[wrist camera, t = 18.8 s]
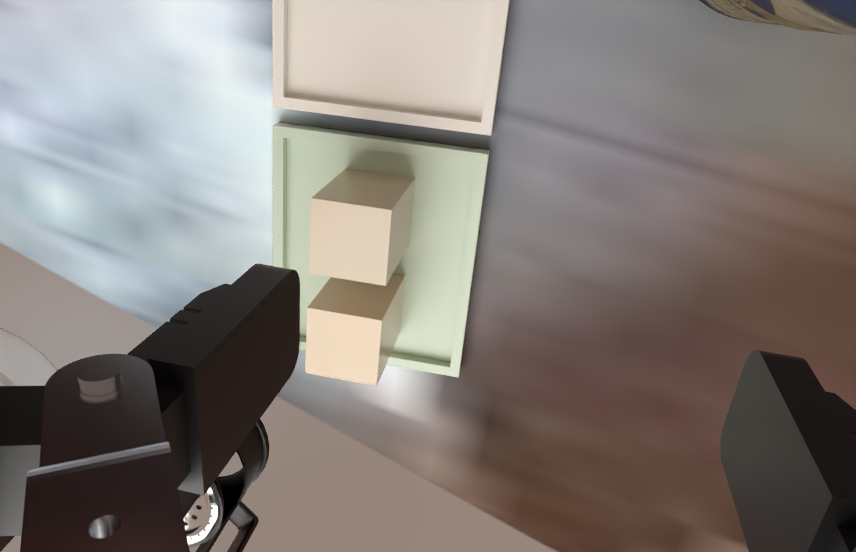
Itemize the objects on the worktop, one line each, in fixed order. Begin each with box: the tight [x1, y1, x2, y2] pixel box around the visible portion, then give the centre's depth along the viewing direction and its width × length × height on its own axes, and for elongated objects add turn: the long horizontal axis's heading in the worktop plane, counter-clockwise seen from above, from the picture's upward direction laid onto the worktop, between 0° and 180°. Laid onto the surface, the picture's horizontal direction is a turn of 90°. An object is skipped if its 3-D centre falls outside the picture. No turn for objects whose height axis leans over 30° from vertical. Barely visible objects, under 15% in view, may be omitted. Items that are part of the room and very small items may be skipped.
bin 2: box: [273, 122, 490, 377], centre depth 39 cm, size 12×14×1 cm
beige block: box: [309, 168, 415, 286], centre depth 35 cm, size 4×4×6 cm
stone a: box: [305, 273, 405, 386], centre depth 37 cm, size 4×4×6 cm
